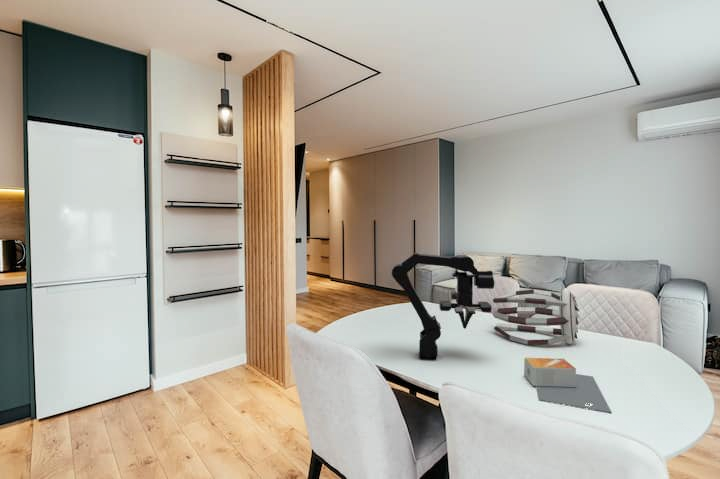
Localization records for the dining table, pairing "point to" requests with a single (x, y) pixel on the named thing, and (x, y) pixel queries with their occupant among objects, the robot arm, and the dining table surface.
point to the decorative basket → (565, 318)
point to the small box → (549, 372)
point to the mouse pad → (576, 394)
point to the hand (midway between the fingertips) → (464, 328)
